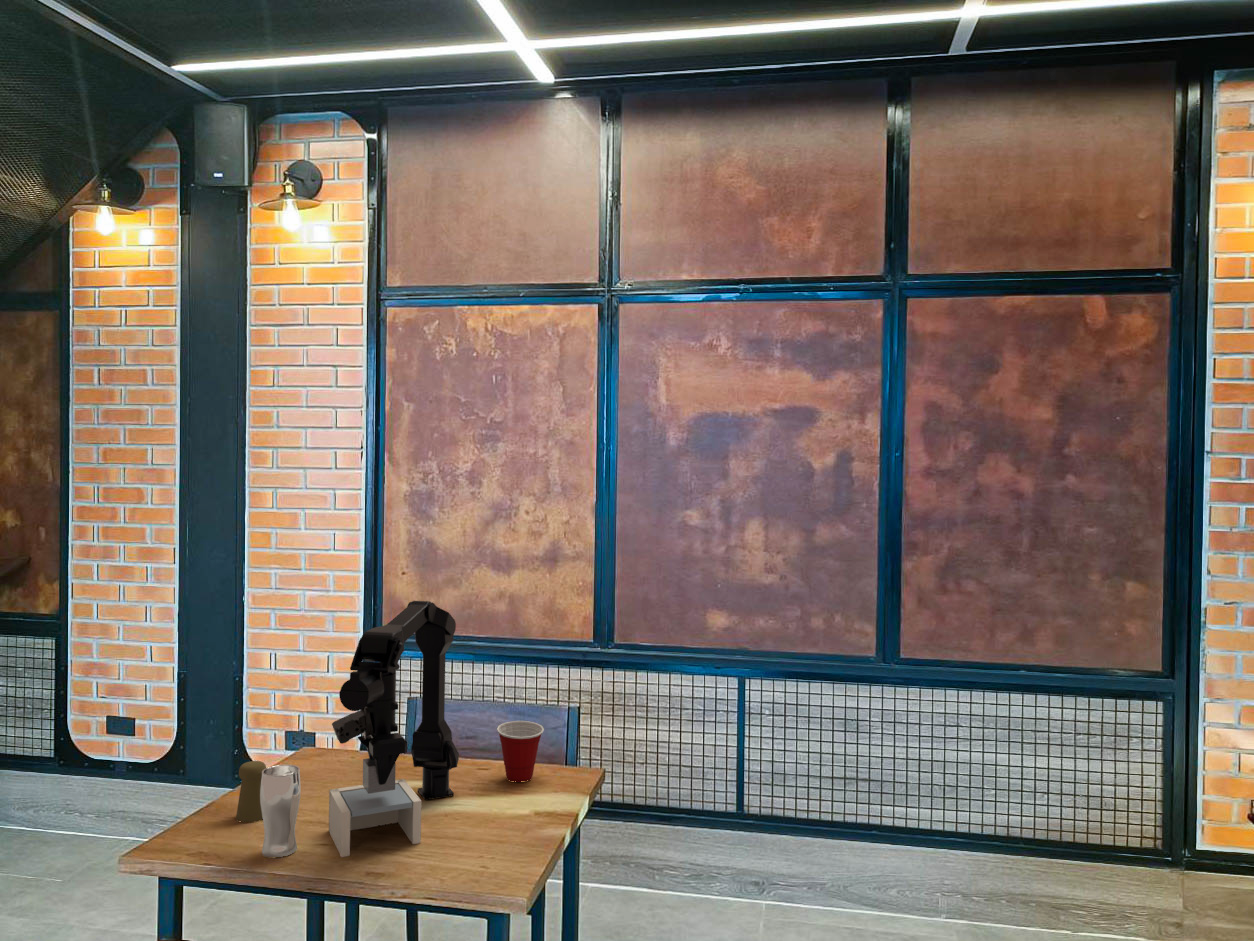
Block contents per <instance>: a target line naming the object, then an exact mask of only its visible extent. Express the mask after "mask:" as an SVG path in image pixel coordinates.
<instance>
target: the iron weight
mask: <svg viewBox="0 0 1254 941" xmlns="http://www.w3.org/2000/svg"><path fill="white" fill-rule="evenodd" d="M396 764H397V763H396V762H395V764H394V766H393V768H392V770H391V773H390V775H389V777H388V779H387V781H386V783H385V784H383V785H380V784H379V781H378V775H377V769H376V762H375V758H369V757H368V758H363V759H362V785H363V787H364V788H365V790H366V791H367V793H368V794H370V793H377V792H383V791H390V790H395V780H396V766H397V765H396Z"/></svg>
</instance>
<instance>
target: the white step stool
mask: <svg viewBox="0 0 1254 941" xmlns="http://www.w3.org/2000/svg"><path fill="white" fill-rule="evenodd" d="M395 784H398V785H399V786H400V787H401V789H402V790H403V791H404V793H405V794H406V795H407V796H408V798H409V799H410V800H411V802H412V808H405V809H399V810H393V811H387V812H380V813H374V814H368V815H362V816H356V817H352V816H351V814H350V810H349V809H348V807H347V805H346V803H345V801H344V800H343V798H342V796H341V792H346V791H353V790H360V789H365V788H364V787H363V784H361V785H360V784H359V785H351V786H345V787H339V788H333V789H332V788H331V789H329V791H328V793H329V794H328V832H329V834H330V837H331V839H332V840H333V843H334V845H335V847H336V850H337V851H339V852H338V854H339V853H340V854H339V856H340V857H341V858H343V857H344V858H345V857H349V856H350V854H351V850H350V848H351V831H357V830H360V829H361V830H362V829H367V828H368V829H369V828H373V827H379V826H378V825H380V826H385V824H386V825H391V824H390V823H392V824H397V822H398V825H399V826H400V828H401V829H402V831H403V833H405V835H406V836H407V838H408V839H409V841H410V842H411V844H412V845H417V844H421V842H422V841H421V839H422V831H421V830H422V800H421V798H420V797H419V796H418V795H417V793H416V792H415V791H414V790H413V788H412V787H411V786H410V785H409V783H408V782H407V780H405V779H404V778H401V779H395Z"/></svg>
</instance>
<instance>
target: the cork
mask: <svg viewBox="0 0 1254 941" xmlns="http://www.w3.org/2000/svg"><path fill="white" fill-rule="evenodd" d="M266 768H267V764H266V763H265V762H263V761H259V760H252V761H251V760H250V761H247V762H244V763H243V764H241V765H240V767H239V769H238V777H239V779H240V780H241V782H240V789H239V796H238V803H237V809H236V816H235V820H236V821H237V820H238V821H237V822H239V821H241V822H240V823H243V822H249V823H255V822H254V821H256V822H259V820H260V821H263V820H262V819H263V818H262V812H261V804H260V788H261V778H262V771H263V770H264V769H266Z"/></svg>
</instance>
